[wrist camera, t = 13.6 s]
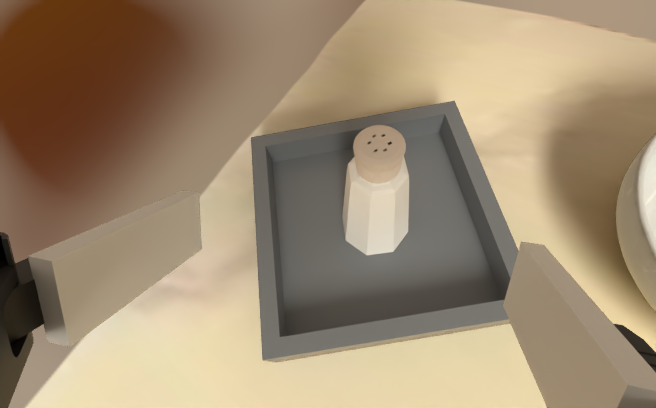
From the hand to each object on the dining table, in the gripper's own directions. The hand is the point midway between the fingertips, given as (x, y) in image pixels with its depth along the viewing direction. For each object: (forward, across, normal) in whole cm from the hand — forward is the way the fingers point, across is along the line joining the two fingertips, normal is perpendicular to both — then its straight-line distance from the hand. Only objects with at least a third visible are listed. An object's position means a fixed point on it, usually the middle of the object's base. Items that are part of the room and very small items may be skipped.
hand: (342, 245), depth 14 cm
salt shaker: (+14, 0, -4) cm, 14 cm away
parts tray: (+14, 0, -5) cm, 15 cm away
